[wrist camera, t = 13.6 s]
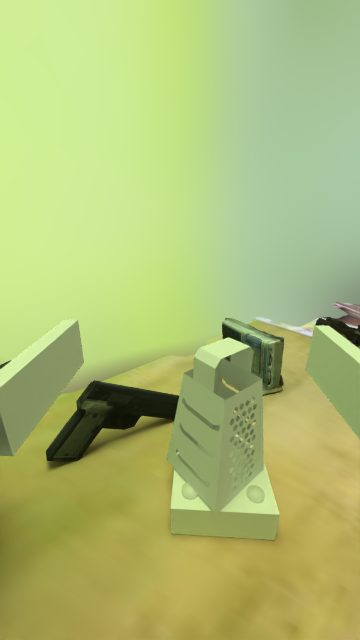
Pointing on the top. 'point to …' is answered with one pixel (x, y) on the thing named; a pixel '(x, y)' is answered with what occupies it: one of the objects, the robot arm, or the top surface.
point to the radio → (259, 352)
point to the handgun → (107, 416)
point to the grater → (218, 421)
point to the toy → (342, 329)
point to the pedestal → (236, 516)
